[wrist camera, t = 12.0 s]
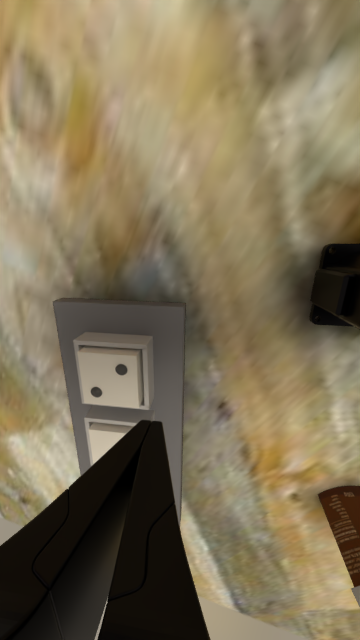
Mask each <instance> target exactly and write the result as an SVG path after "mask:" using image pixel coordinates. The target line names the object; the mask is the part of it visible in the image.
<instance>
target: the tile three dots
mask: <svg viewBox="0 0 360 640" xmlns="http://www.w3.org/2000/svg"><path fill="white" fill-rule="evenodd" d="M133 427H134V426H127V425H117V424H108V423H98V422H93V423H92V425H91V426H90V428H89V436H90V444H91V451H92V459H93V464H94V463H95V462H96V461H97V460H99V459H100V458H101V457H102V456H103V455H104V454H105V453H106V452H107V451H108V450H109V449H110V448H111V447H112V446H114V445H115V444H116V443H117V442H118V441H119V440H120V439H121V438H122V437H123V436H124V435H125V434H126V433H127V432H129V431H130V430H131V429H132V428H133Z"/></svg>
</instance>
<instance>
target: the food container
mask: <svg viewBox="0 0 360 640" xmlns="http://www.w3.org/2000/svg"><path fill="white" fill-rule="evenodd" d="M318 496H319V499H320V501H321V504H322V507H323V509H324V512H325V514H326V517H327V519H328V522H329V524H330V527H331V529H332V532H333V534H334V537H335V539H336V542H337V544H338V547H339V549H340V552H341V555H342V557H343V560H344V562H345V565H346V567H347V570H348V572H349V575H350V577H351V580H352V582H353V585H354V588H351V590H352V592H353V594H354V596H355V598H356V600H357V602H358V604H359V606H360V486H342V487H336V488H332V489H329V490H326V491H323V492H321V493H320V494H318Z"/></svg>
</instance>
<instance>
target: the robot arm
mask: <svg viewBox="0 0 360 640" xmlns="http://www.w3.org/2000/svg"><path fill="white" fill-rule="evenodd" d="M331 247H332V248H333V252H332V253H331V254H330V253H329V249H330V248H331ZM311 302H312V308H311V313H310V321H311V322H312V323H314V324H317V325H336V326H354V327H356V328H358V329H360V244H328V245H326V246H325V247H324V249H323V253H322V258H321V263H320V268H319V269H318V270H317V271H316V274H315V280H314V285H313V290H312V295H311ZM317 316H319V319H318V320H315V317H317ZM107 598H108V601H107ZM106 601H107V602H108V603H107V605H106V609H105V614H104V617H103V622H102V626H101V629H100V633H99V636H98V640H210V637H209V634H208V630H207V627H206V624H205V620H204V617H203V613H202V610H201V606H200V603H199V599H198V595H197V592H196V588H195V585H194V581H193V578H192V574H191V571H190V567H189V564H188V560H187V556H186V552H185V549H184V545H183V541H182V537H181V531H180V526H179V521H178V516H177V509H176V505H175V497H174V491H173V485H172V479H171V472H170V466H169V460H168V454H167V447H166V441H165V435H164V429H163V423H162V422H161V421H151V420H140V421H139V422H138V423H137V424H136V425H135V426H134V427H133V428H132V429H131V430H130V431H129V432H127V433H126V434H125V435H124V436H123V437H122V438H121V439H120V440H119V441H118V442H117V443H116V444H115V445H114V446H112V447H111V448H110V449H109V450H108V451H107V452H106V453H105V454H104V455H103V456H102V457H101V458H100V459H99V460H97V461H96V462H95V463H94V464H93V465H92V466H91V467H90V468H89V469H88V470H87V471H86V472H85V473H84V474H82V475H81V476H80V477H79V478H78V479H77V480H76V481H75V482H74V483H73V484H72V485H71V486H70V487H69V489H66V490H65V491H64V492H63V493H62V494H61V495H60V496H59V497H58V498H57V499H55V500H54V501H53V502H52V503H51V504H50V505H49V506H48V507H47V508H45V509H44V510H43V511H42V512H41V513H40V514H39V515H37V516H36V517H35V518H34V519H33V520H31V521H30V522H29V523H28V524H27V525H25V526H24V527H23V528H22V529H21V530H19V531H18V532H17V533H16V534H14V535H13V536H12V537H11V538H9V539H8V540H7V541H6V542H5V543H3V544H2V545H1V546H0V640H94V639H95V636H96V632H97V629H98V626H99V623H100V620H101V616H102V614H103V611H104V607H105V604H106Z"/></svg>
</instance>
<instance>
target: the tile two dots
mask: <svg viewBox="0 0 360 640" xmlns="http://www.w3.org/2000/svg"><path fill="white" fill-rule="evenodd" d="M77 354H78V361H79V368H80V375H81V383H82V390H83V397H84V403H89V404H99V405H110V406H120V407H130V408H139V407H140V405H141V402H142V400H143V398H144V377H143V352H142V349H134V348H118V347H103V346H88V345H86V346H84V347H83V348H82V349H81V350H79V351H78V352H77Z"/></svg>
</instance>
